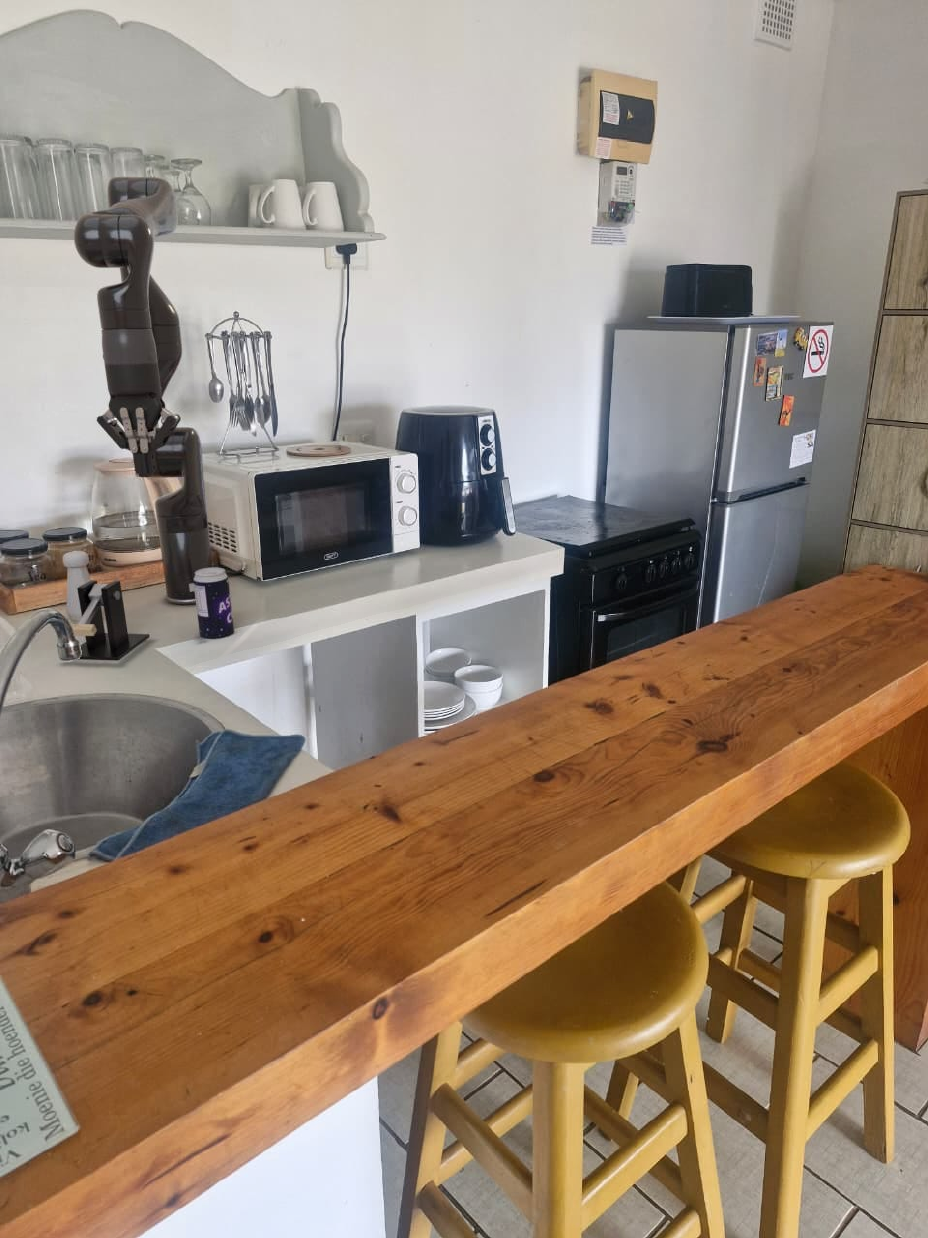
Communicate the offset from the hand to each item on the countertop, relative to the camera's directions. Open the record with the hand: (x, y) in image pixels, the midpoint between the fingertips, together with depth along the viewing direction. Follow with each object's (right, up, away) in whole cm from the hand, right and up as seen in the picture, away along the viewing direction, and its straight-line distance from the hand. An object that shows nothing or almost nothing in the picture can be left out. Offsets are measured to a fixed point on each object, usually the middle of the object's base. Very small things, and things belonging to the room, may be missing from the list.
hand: (146, 476), depth 135 cm
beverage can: (+7, -26, +14) cm, 30 cm away
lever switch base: (-9, -28, +9) cm, 31 cm away
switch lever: (-10, -22, +4) cm, 24 cm away
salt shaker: (-20, -23, +24) cm, 39 cm away
